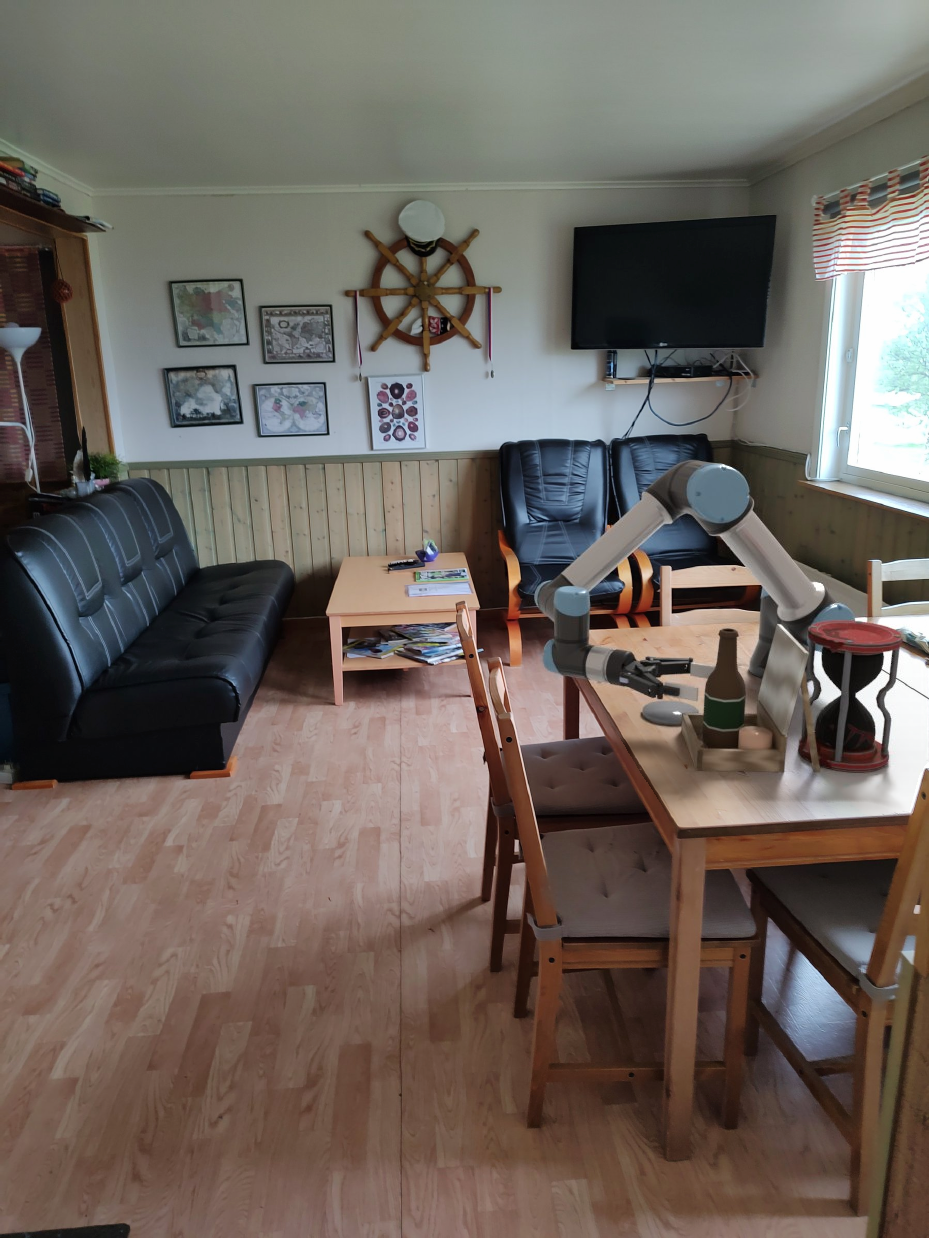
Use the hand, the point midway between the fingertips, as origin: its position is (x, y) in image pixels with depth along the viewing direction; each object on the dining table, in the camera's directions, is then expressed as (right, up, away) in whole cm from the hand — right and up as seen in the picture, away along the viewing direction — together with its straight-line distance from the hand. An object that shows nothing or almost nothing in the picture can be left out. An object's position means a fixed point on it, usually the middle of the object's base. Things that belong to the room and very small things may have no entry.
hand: (710, 683), depth 168 cm
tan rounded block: (+7, -14, -5) cm, 17 cm away
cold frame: (+7, -14, 0) cm, 16 cm away
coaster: (-3, -8, +19) cm, 21 cm away
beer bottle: (+3, -13, +3) cm, 13 cm away
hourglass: (+25, -14, -3) cm, 28 cm away
